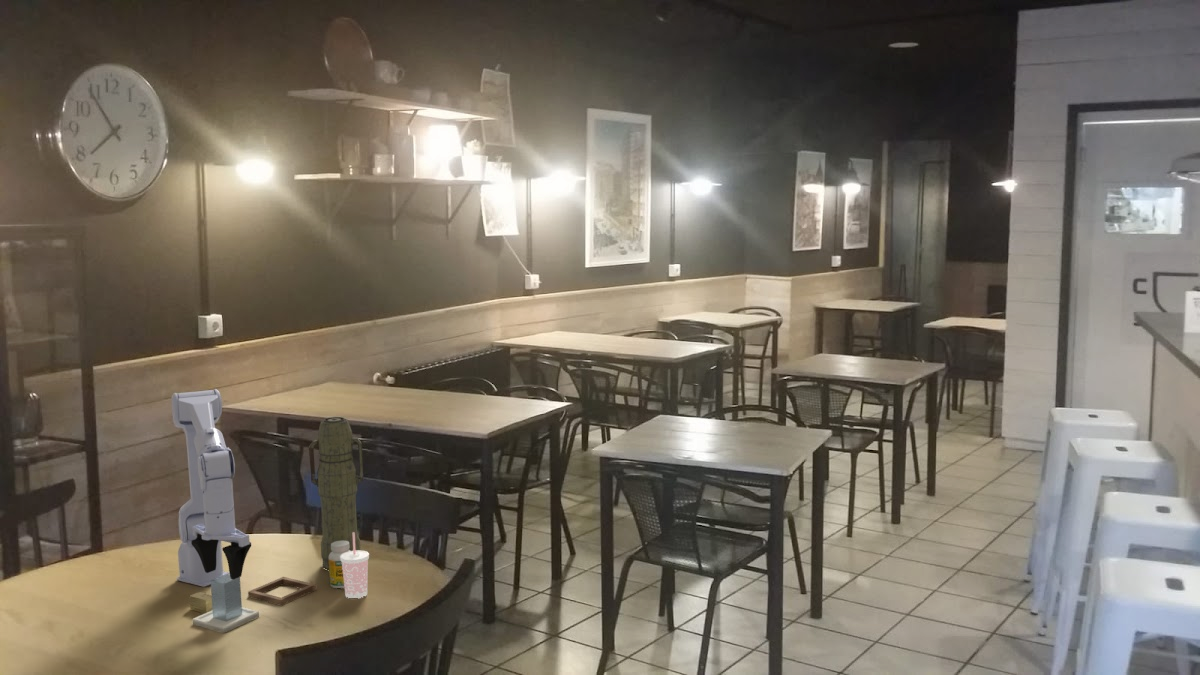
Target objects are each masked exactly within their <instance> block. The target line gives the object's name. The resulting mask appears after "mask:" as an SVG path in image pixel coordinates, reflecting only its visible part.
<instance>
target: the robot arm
mask: <svg viewBox="0 0 1200 675" xmlns="http://www.w3.org/2000/svg"><path fill="white" fill-rule="evenodd" d="M170 401H171V402H170V403H171V414H172V422H173V424H174V427H175V428H179V429H182V430H183V433H184V435H185V442H186V454H187V456H186V457H187V466H188V468H187V469H188V479H189V493H190V499H189V500H187V501H185V502H186V503H184V504H183V505H182V506H181V507H180V508H179V511H178V533H179V538H180V542H181V543H180V544H179V546H178V547H179V548H178V550H177V551H178V552H177V556H178V559H177V560H178V571H179V576H178V577H176V580H177V581H180V582H183V583H187V584H191V585H196V586H197V587H198V586H199V587H208V586H211V580H213V579H215V578H218V577H220V576H223V575H225V574H229V575H230V577H231V579H233V580H234V579H236V578H239V577H240V578H241V577H242V574H243V569H244V566H245V565H244V564H245V560H246V558H247V555H248V554H249V551H250V549H251V547H252V542H250V534H246V533H244V532H243V531H241V530H239V529H237V528H236V521H235V520H236V519H235V518H236V517H235V505H234V489H233V488H234V485H233V479H234V477H235V472H236V471H235V470H236V469H235V468H236V463H235V458H234V455H233V451H232V449H231V448H230V447H229V446H228V447H227V445H226V442H225V437H224V436H223V434H224V433H222V431H221V430H219V429H218V428H216V425H215V424H217V423H218V421H219V419H220V418H221V416H222V414H223V403H222V395H221V392H220V391H219V390H218V389H217V388H214V389H210V390H201V391H200V390H198V391H190V392H189V391H188V392H179V393H178V392H174V393H173V394H172V395H171V400H170ZM222 542H224V543H230V544H229V545H226V546H224V547H222ZM223 553H224V556H225V559H226V560H227V564H228V571H229V572H226V571H224V563H223Z"/></svg>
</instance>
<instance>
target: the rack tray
mask: <svg viewBox="0 0 1200 675" xmlns="http://www.w3.org/2000/svg"><path fill="white" fill-rule="evenodd" d="M259 617H260V612H259V610H254V609H251V608H247V607H243V606H242V615H240V616H238V617H236V618H234V619H231V620H229V621H227V622H226V621H222V620H219V619H215V618H213V610H212V611H210V612H207V613H202V614H201V615H198V616H196V617H194V618H192V625H193V626H196V627H197V626H198V627H200V628H204V629H208V630H211V631H214V632H218V633H220V634H225V633H227V632H230V631H231V630H234V629H236V628H238V627H240V626H242V625H245V624H247V623H249V622H252V621H253V620H256V619H258V618H259Z"/></svg>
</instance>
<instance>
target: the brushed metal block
mask: <svg viewBox="0 0 1200 675" xmlns="http://www.w3.org/2000/svg"><path fill="white" fill-rule="evenodd" d="M241 588H242V587H241V577H239V578H236V579H234V580H233V579H231V577H230V575H229V574H225V575H223V576H220V577H218V578H215V579H213V580H211V584H210V591H211V594H210V595H212V610H213V618H215V619H219V620H222V621H226V622H227V621H229V620H231V619H234V618H236V617H238V616H240V615H242V607H243V606H242V590H241Z"/></svg>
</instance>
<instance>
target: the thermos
mask: <svg viewBox="0 0 1200 675" xmlns="http://www.w3.org/2000/svg"><path fill="white" fill-rule="evenodd" d="M355 443H357V445H358V446H357V447H358V449H357V450H358V451H357V452H358V468H359V469H358V470H359V475H358V474H357V468H356V465H355V463H354V456H353V451H354V449H353V444H355ZM315 445H317V446H318V454H319V462H318V463H319V465H318V468H317V475H316V464H315V451H314V450H315ZM362 447H363V443H362V441H361V440H360V439H359V437H356V436H353V430H352V428H351V425H350V422H349V421H348V418H344V416H343V417H342V416H341V417H340V416H332V417H328V418H324V419H323V420H321V421H320V423H319V428H318V433H317V438H316V439H314V440H313V441H312V442H311V443H310V444H309V446H308V455H309V464H310V465H309V467H310V479H311V480H310V481H311V483H312V484H313V485H315V486H317V489H318V496H319V498H320V507H321V508H320V509H321V528H322V530H321V531H322V537H321V542H320V552H321V554H320V555H321V559H322V569H323V568H325V569H327V570H329V554H330V553H331V552H332V550H331V543H333V542H336V541H348V542H349V545H350V548H349V550H350V551H353V534H352V533H353V532H355V549H356V550H361V540H360V536H358V522H357V519H358V517H357V499H356V495H357V493H358V484H359V483H360V482H363V481H364V465H363V464H364V463H363V462H364V460H363V448H362ZM316 476H317V478H316ZM327 570H326V571H327Z"/></svg>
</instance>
